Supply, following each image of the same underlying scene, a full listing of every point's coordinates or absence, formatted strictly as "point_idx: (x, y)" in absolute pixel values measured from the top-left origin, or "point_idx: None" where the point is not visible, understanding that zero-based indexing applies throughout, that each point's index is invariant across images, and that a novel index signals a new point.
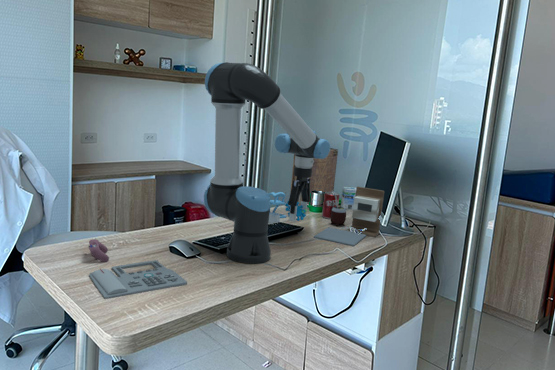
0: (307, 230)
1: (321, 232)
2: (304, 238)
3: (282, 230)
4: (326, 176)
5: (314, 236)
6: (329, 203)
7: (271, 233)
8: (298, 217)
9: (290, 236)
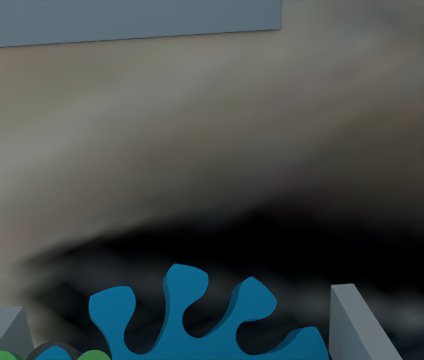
0: (92, 188)
1: (81, 25)
2: (363, 87)
3: (269, 329)
4: None
5: (279, 19)
6: None
7: (405, 343)
8: (244, 316)
9: (386, 208)
